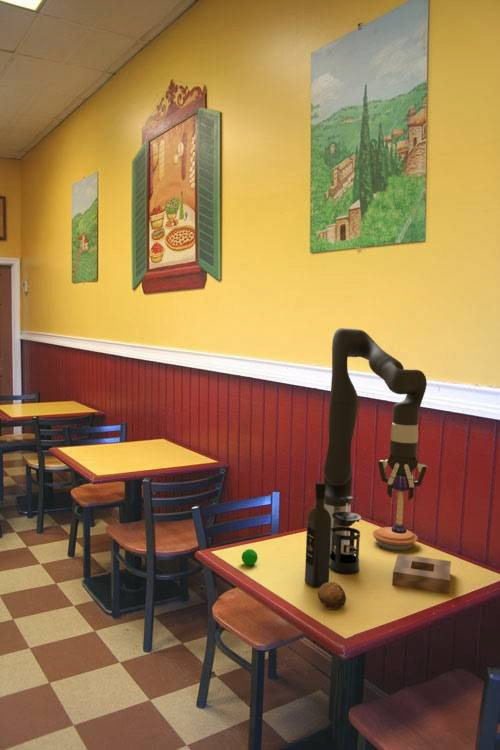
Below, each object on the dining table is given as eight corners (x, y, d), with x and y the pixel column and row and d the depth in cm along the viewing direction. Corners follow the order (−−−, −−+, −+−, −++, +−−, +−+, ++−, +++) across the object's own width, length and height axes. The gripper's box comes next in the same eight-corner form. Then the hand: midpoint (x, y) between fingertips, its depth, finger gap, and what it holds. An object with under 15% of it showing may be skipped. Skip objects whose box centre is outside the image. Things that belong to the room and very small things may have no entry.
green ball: (239, 562, 195) (240, 547, 195) (254, 561, 196) (254, 546, 196) (244, 568, 190) (244, 553, 190) (259, 566, 192) (259, 552, 191)
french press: (366, 568, 193) (369, 496, 191) (352, 577, 185) (355, 502, 184) (333, 559, 200) (336, 490, 198) (318, 567, 193) (321, 495, 191)
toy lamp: (406, 535, 174) (410, 477, 172) (389, 533, 175) (393, 475, 173) (406, 529, 178) (409, 473, 177) (389, 528, 179) (393, 471, 178)
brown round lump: (313, 586, 170) (323, 573, 167) (338, 596, 171) (349, 583, 168) (311, 610, 164) (322, 597, 160) (338, 621, 165) (349, 608, 161)
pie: (364, 546, 214) (365, 532, 214) (382, 535, 227) (382, 521, 226) (407, 556, 205) (408, 542, 205) (423, 544, 218) (423, 530, 218)
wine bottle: (313, 588, 176) (318, 486, 174) (303, 581, 181) (307, 481, 179) (330, 585, 179) (334, 484, 177) (319, 578, 184) (323, 480, 182)
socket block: (392, 584, 181) (392, 571, 181) (397, 565, 196) (398, 553, 196) (449, 593, 176) (449, 580, 176) (450, 573, 191) (450, 561, 191)
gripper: (376, 438, 173) (373, 498, 175) (429, 444, 168) (425, 505, 170) (380, 435, 180) (377, 492, 182) (431, 439, 176) (427, 498, 177)
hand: (400, 497), depth 176 cm, fingers closed on toy lamp, 4 cm apart
